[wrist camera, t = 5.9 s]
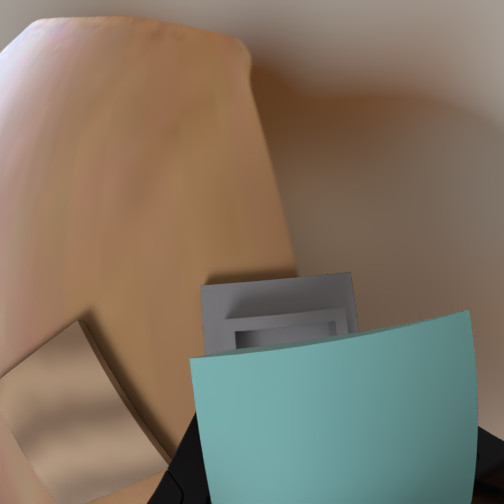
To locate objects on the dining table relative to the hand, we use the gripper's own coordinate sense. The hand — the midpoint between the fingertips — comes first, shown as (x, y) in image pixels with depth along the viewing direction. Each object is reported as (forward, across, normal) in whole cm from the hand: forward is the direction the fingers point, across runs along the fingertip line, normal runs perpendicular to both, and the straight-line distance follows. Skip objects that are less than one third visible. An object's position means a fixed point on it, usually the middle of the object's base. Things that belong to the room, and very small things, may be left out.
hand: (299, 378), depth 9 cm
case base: (+9, -1, +10) cm, 14 cm away
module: (+3, 0, +5) cm, 6 cm away
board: (+6, +17, +13) cm, 22 cm away
